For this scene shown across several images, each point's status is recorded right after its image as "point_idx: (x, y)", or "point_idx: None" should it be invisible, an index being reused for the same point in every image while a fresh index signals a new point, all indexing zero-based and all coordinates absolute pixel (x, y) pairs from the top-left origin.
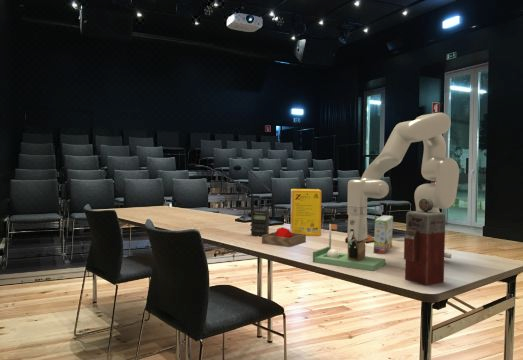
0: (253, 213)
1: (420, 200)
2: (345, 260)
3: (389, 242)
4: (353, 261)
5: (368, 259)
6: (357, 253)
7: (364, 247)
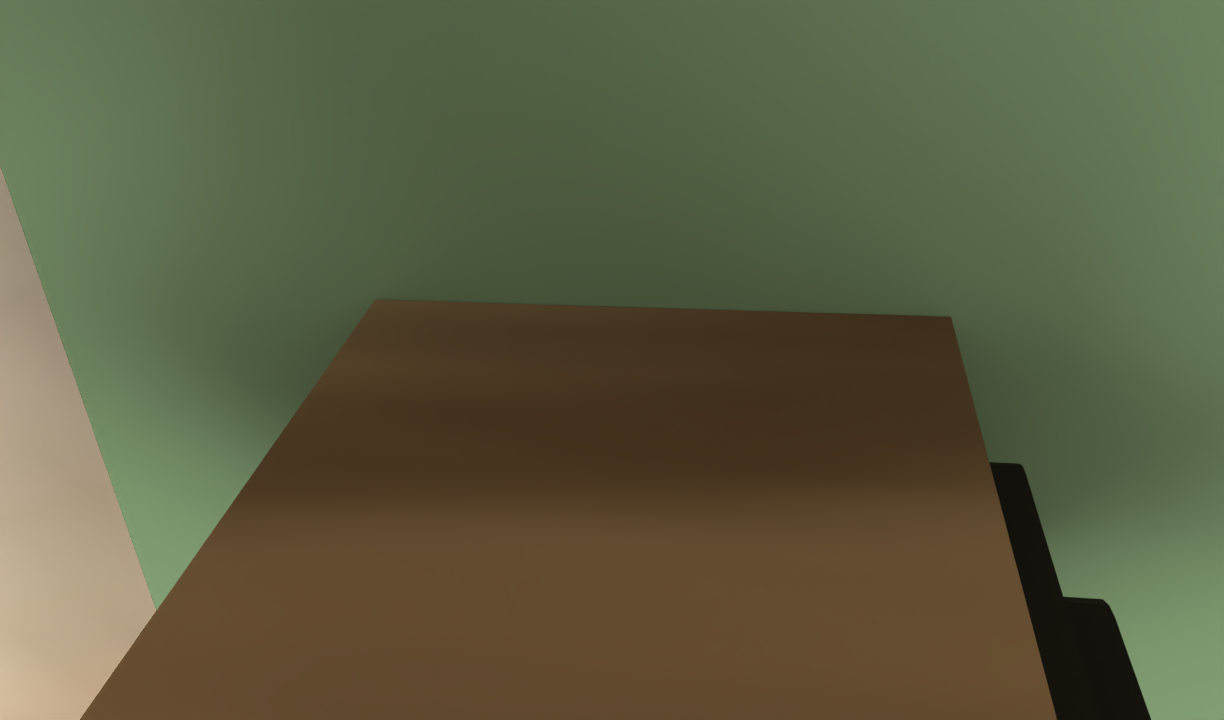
0: None
1: None
2: None
3: None
4: (1133, 466)
5: (463, 141)
6: None
7: (299, 598)
